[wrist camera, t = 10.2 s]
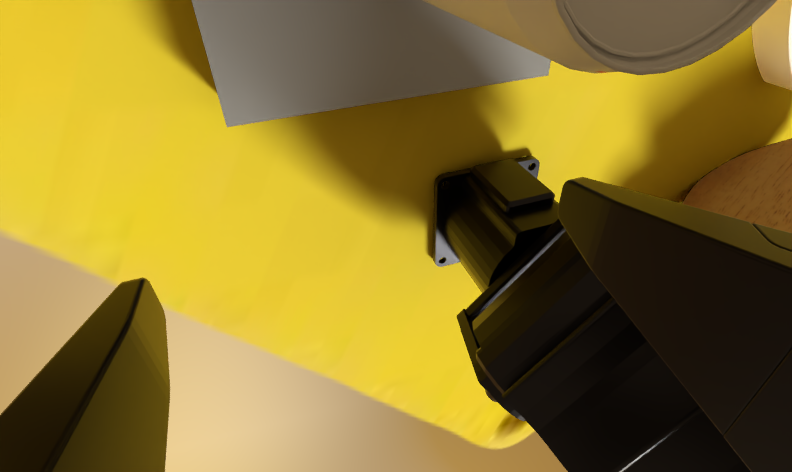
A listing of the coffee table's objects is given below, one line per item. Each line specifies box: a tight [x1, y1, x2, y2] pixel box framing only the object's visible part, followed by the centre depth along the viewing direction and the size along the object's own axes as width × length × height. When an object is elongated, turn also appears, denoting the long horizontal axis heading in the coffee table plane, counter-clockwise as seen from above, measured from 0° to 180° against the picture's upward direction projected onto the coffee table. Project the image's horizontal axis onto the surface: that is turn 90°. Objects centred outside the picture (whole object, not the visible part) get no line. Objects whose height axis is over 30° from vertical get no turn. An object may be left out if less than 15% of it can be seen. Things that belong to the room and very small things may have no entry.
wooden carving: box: [682, 138, 792, 233], centre depth 30 cm, size 16×5×10 cm, turn 121°
